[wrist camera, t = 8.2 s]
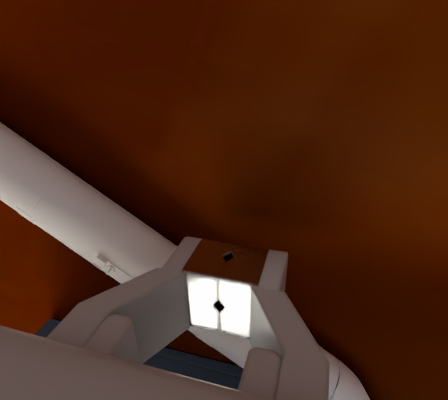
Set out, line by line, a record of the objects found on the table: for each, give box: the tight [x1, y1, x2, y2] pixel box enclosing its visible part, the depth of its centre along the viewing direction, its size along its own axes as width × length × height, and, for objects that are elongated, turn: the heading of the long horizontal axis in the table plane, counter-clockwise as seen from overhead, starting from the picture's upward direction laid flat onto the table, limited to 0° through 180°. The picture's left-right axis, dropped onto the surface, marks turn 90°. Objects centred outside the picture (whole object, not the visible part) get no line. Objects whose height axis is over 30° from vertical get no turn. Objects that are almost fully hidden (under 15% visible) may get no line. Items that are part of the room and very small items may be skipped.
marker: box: [0, 122, 370, 400], centre depth 12 cm, size 18×2×2 cm, turn 58°
